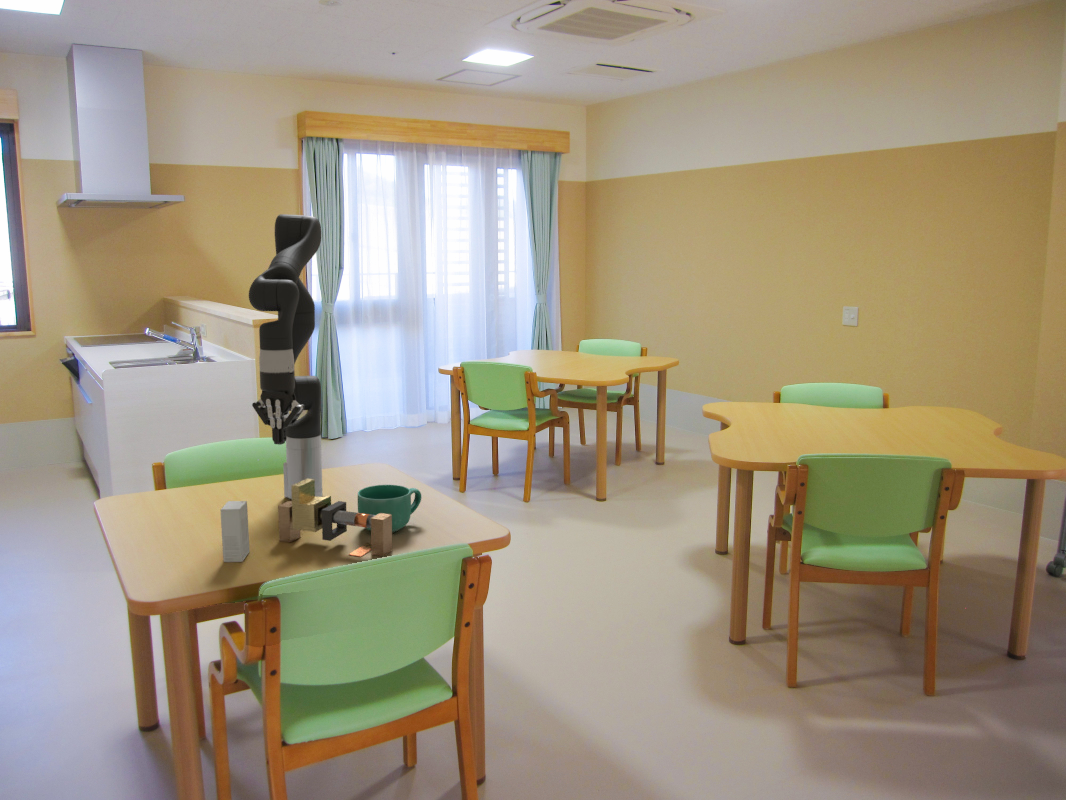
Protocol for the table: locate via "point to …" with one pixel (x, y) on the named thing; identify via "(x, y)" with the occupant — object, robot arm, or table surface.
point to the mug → (389, 503)
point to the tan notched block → (307, 506)
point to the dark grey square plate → (327, 521)
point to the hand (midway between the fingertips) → (279, 443)
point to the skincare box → (235, 531)
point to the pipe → (377, 523)
